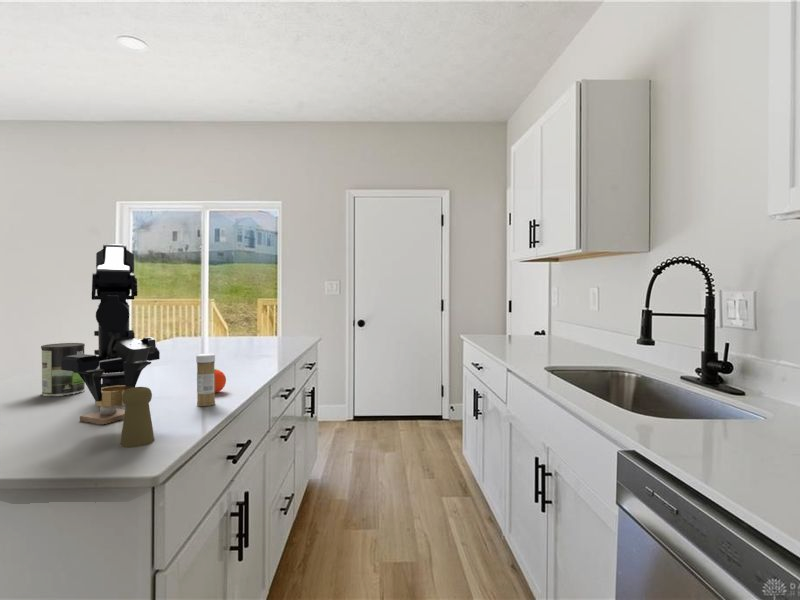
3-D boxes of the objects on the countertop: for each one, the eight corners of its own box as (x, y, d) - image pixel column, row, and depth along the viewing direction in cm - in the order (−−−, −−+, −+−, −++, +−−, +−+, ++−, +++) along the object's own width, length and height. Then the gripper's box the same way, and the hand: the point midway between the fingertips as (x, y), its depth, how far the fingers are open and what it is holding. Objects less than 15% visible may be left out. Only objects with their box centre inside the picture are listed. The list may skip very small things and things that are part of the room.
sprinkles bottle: (215, 402, 125) (215, 352, 125) (214, 406, 121) (214, 355, 120) (197, 403, 123) (196, 353, 123) (195, 407, 119) (195, 355, 119)
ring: (118, 397, 105) (118, 384, 105) (140, 400, 102) (140, 387, 102) (87, 404, 98) (87, 390, 98) (110, 407, 96) (110, 393, 96)
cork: (130, 449, 88) (129, 392, 88) (113, 443, 91) (113, 388, 91) (160, 440, 93) (160, 386, 93) (144, 435, 97) (143, 383, 96)
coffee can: (93, 389, 140) (92, 342, 139) (68, 397, 129) (67, 347, 129) (59, 388, 140) (59, 342, 139) (32, 396, 129) (31, 346, 129)
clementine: (200, 390, 139) (200, 367, 139) (224, 388, 142) (224, 365, 142) (201, 396, 132) (201, 371, 131) (227, 394, 134) (227, 369, 134)
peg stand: (112, 412, 114) (112, 391, 114) (135, 416, 111) (135, 394, 111) (79, 421, 106) (79, 398, 106) (103, 425, 103) (103, 402, 103)
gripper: (96, 331, 88) (97, 412, 89) (177, 324, 106) (177, 392, 106) (59, 328, 92) (60, 406, 93) (142, 322, 110) (142, 387, 110)
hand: (114, 397), depth 100 cm, fingers closed on ring, 7 cm apart
